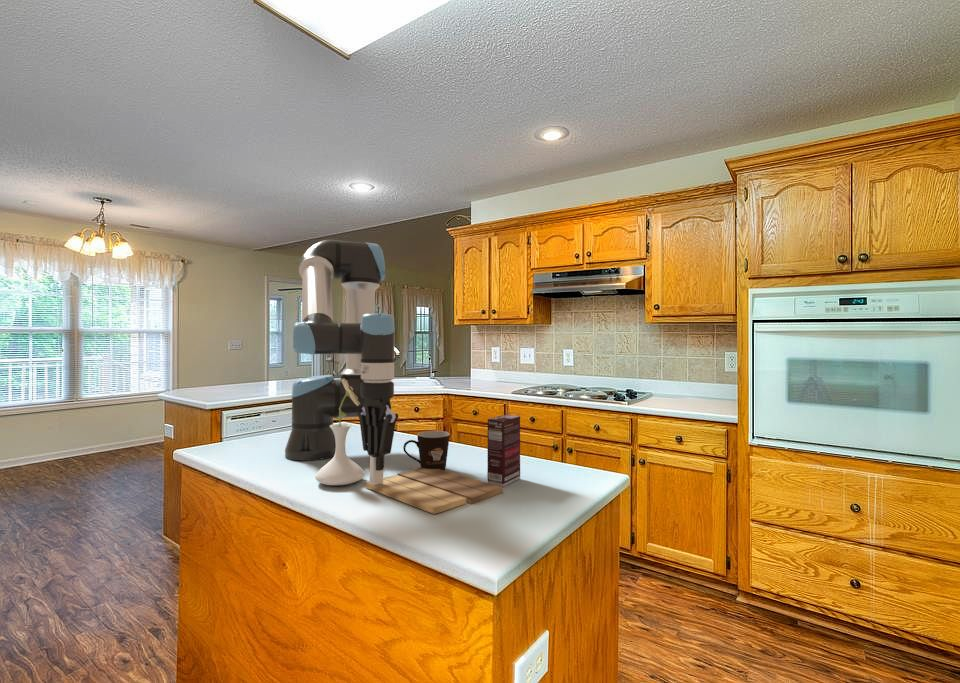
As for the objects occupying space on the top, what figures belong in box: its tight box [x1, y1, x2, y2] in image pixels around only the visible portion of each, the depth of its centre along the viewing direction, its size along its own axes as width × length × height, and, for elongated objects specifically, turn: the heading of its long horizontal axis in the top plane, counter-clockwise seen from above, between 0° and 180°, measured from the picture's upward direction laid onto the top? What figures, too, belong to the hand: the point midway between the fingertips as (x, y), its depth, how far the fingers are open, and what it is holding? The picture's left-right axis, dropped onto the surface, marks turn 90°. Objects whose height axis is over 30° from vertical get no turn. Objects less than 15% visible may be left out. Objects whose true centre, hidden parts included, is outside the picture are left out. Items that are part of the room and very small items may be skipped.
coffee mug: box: [403, 430, 451, 471], centre depth 125 cm, size 12×9×10 cm
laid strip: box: [396, 466, 504, 505], centre depth 112 cm, size 26×10×1 cm, turn 48°
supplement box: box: [486, 414, 521, 488], centre depth 116 cm, size 9×5×16 cm, turn 146°
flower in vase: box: [314, 378, 365, 486], centre depth 114 cm, size 13×11×25 cm
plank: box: [364, 474, 467, 515], centre depth 105 cm, size 24×9×1 cm, turn 48°
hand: (376, 483), depth 108 cm, fingers closed
